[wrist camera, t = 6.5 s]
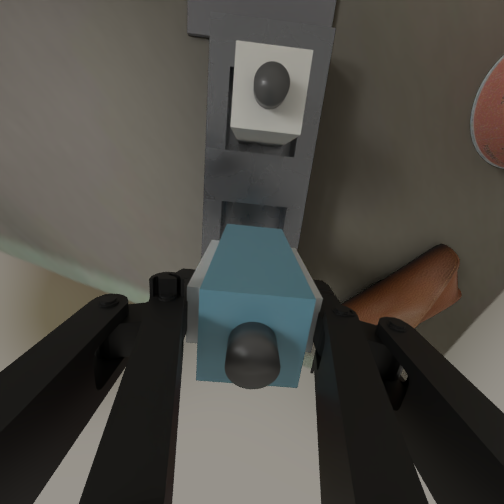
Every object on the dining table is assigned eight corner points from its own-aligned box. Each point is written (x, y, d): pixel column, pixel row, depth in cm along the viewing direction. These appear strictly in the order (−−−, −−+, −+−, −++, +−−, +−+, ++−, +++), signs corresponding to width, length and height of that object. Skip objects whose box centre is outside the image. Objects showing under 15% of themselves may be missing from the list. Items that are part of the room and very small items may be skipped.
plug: (223, 274, 19) (188, 408, 8) (226, 223, 18) (191, 308, 7) (274, 278, 19) (303, 417, 9) (281, 229, 18) (326, 320, 7)
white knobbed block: (238, 142, 23) (228, 123, 13) (242, 94, 22) (234, 27, 11) (280, 147, 23) (304, 132, 13) (286, 99, 22) (319, 38, 12)
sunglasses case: (337, 366, 33) (339, 387, 27) (307, 320, 35) (301, 328, 28) (467, 294, 29) (504, 298, 23) (426, 246, 31) (450, 238, 25)
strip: (284, 279, 29) (289, 296, 25) (206, 272, 28) (200, 288, 25) (320, 52, 21) (335, 27, 18) (217, 39, 21) (210, 11, 17)
